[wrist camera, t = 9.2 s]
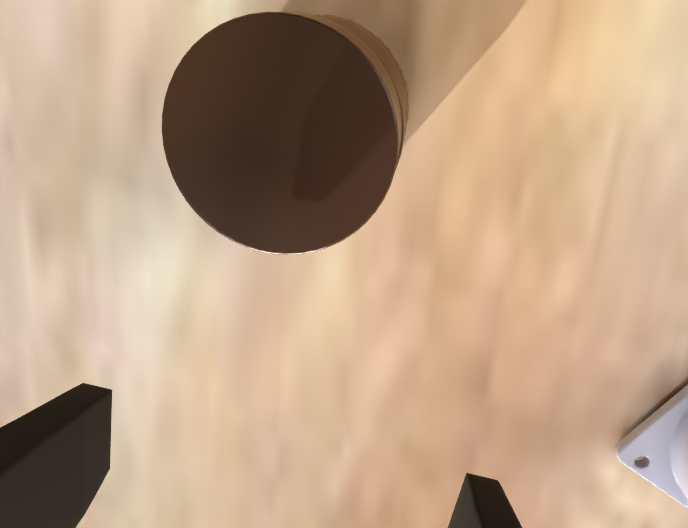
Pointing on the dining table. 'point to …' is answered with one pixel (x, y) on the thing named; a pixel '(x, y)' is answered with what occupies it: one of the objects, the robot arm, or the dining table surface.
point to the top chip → (282, 131)
